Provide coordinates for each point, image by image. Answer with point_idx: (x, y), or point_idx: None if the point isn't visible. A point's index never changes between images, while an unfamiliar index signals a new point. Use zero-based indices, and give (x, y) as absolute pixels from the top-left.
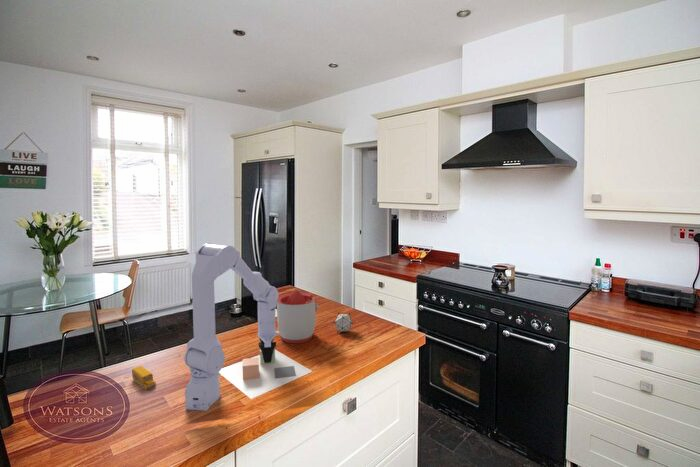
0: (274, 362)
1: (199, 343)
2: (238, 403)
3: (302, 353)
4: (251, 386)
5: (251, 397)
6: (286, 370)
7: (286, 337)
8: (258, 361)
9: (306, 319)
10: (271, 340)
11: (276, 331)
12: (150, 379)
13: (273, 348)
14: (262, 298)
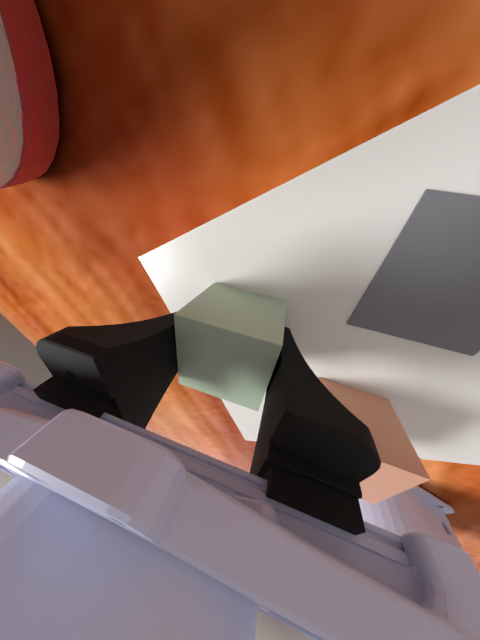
0: (286, 304)
1: None
2: (474, 468)
3: (191, 24)
4: (432, 435)
5: None
6: (445, 269)
7: (5, 145)
8: (385, 463)
9: None
10: (431, 634)
11: (67, 497)
12: None
13: (338, 407)
14: None
